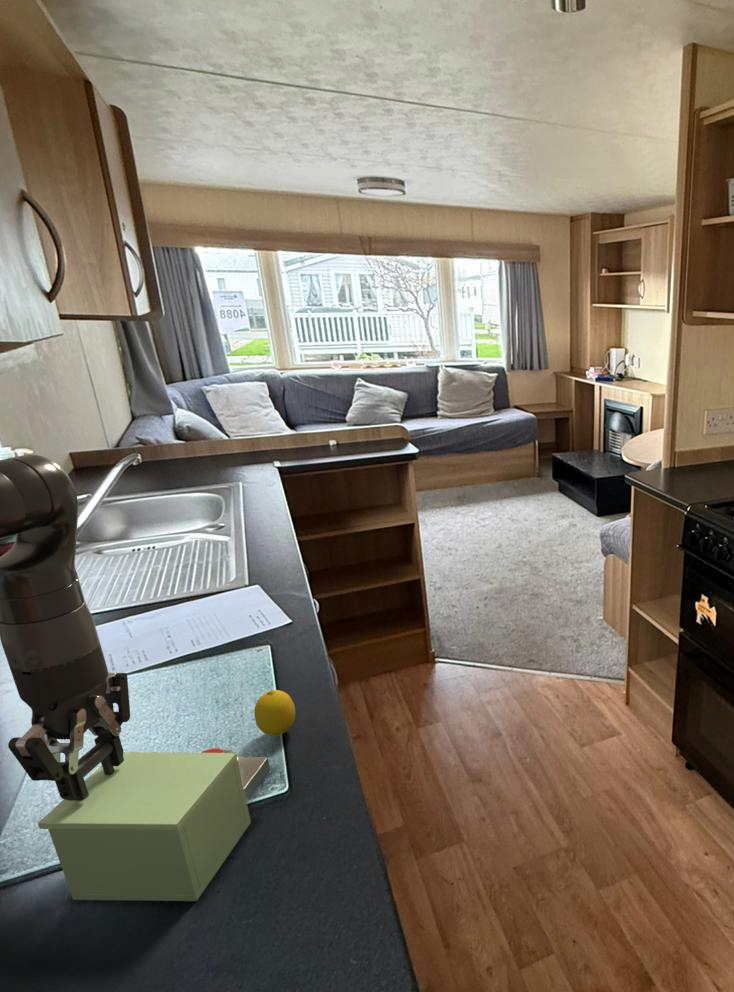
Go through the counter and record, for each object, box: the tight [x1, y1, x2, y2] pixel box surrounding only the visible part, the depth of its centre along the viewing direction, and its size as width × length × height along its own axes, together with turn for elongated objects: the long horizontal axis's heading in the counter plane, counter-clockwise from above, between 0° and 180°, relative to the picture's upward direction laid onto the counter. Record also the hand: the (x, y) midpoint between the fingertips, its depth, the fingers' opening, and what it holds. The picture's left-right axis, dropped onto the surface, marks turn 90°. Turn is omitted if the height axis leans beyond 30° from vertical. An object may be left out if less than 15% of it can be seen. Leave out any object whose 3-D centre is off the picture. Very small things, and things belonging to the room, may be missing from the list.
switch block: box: [222, 749, 271, 803], centre depth 88 cm, size 11×8×4 cm
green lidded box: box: [48, 759, 252, 902], centre depth 76 cm, size 14×12×10 cm
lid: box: [37, 741, 237, 830], centre depth 73 cm, size 15×12×5 cm
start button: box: [200, 747, 224, 753], centre depth 87 cm, size 4×4×2 cm
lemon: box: [254, 689, 296, 737], centre depth 99 cm, size 6×6×8 cm
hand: (95, 780), depth 74 cm, fingers closed on lid, 5 cm apart
